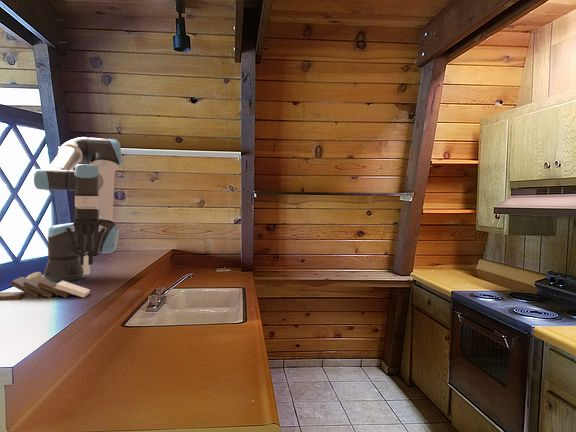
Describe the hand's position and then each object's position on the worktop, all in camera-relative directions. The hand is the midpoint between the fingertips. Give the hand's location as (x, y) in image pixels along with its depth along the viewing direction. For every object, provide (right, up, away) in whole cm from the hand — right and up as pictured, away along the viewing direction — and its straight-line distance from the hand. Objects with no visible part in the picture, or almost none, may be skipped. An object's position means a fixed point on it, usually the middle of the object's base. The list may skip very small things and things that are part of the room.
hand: (86, 273), depth 138 cm
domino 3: (-10, -7, -2) cm, 12 cm away
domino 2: (-15, -7, -3) cm, 16 cm away
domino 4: (-6, -7, -1) cm, 9 cm away
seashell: (-22, -7, +3) cm, 24 cm away
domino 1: (-20, -7, -5) cm, 22 cm away
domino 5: (0, -7, 0) cm, 7 cm away
